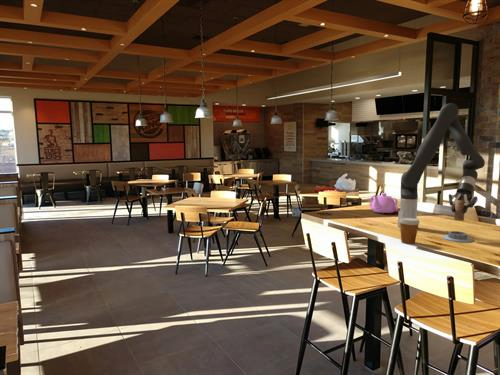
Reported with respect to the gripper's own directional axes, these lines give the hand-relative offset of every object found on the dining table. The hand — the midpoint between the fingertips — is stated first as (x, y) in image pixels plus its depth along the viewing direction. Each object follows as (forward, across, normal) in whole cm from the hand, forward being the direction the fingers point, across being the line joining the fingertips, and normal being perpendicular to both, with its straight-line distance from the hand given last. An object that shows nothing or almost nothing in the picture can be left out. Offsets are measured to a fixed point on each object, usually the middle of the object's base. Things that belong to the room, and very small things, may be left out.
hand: (458, 211), depth 198 cm
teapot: (-24, -63, +45) cm, 81 cm away
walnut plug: (+2, 0, +4) cm, 5 cm away
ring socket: (+9, 0, +12) cm, 15 cm away
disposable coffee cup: (+27, -16, -7) cm, 32 cm away
